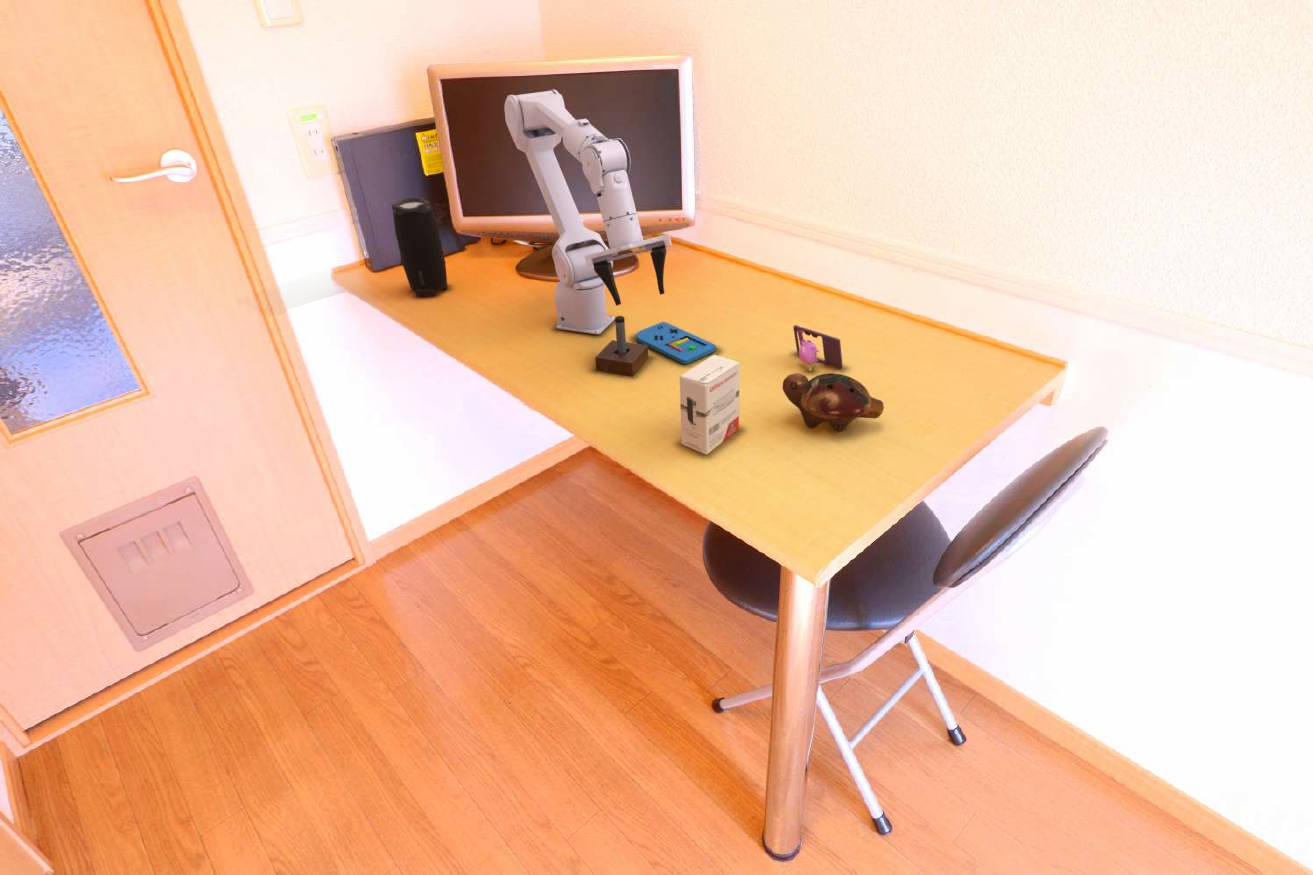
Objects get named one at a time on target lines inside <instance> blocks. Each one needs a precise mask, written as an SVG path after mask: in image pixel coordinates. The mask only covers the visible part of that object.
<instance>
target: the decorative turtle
mask: <svg viewBox="0 0 1313 875" xmlns="http://www.w3.org/2000/svg"><path fill="white" fill-rule="evenodd" d="M782 391H783V393H784V395H785V397H786V398H787V399H788V400H789V401H790V402H791V404H792V405H794V406H795V408H797V409H798V410H799V412H800V414H801V416H802V418H803V423H804V424H805V426H806V427H807V428H808V430H809V429H810V430H812V429H816V428H817V427H819V426H820V425H822V424H823V423H827V424H829V425H830V426H831V428H832V429H834V431H835V432H837V433H842V432H843V431H845V430H846V429H847V428H848V426H849V425H850V424H851V423H852V422H853V421H854V420H856V419H858V418H860V419H861V418H862V419H878V418H880V417H881V415H882V414H883V412H884V409H885V405H884V402H883V401H882V400H880V399H878V398H875V397H873V396H871V394H870V393H869V390H868V389H867V388H866V387H865V386H864V384H862V383H861V382H860V381H858V380H857V379H855V378H853V377H851V376H848V375H846V374H842V373H833V372H832V373H831V372H829V373H821V374H818V375H816V376H814V377H812V378H811V379H808V377H807V376H806V374H803V373H800V372H798V373H797V372H796V373H791V374H788V375H787V376H786V377H785V378H784V379H783V381H782Z"/></svg>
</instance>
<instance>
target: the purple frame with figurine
mask: <svg viewBox="0 0 1313 875" xmlns="http://www.w3.org/2000/svg"><path fill="white" fill-rule="evenodd" d="M792 328H793V334H794V342H795V346H796V353H797V355H798V356H799V359H800V360H801V361H802V363H803V364H805V365H808V372H812V370H813V365H814V364H815V363H816V362H818V363H823V364H826V365H828V366H831V367H834V368H836V369H839V370H842V369H843V367H844V366H843V356H842V355H843V354H842V346H841V345H842V344H841V339H840V338H838V337H835V336H831V335H828V334H825V333H821V332H818V331H815V330H812V329H809V328H806V327H803V326H802V325H796V324H795V325H793V327H792ZM803 334H805V335H806V336H812V338H815V339H818V338H819V337H820V338H821V341H822V349H823V358H824V359H821V358H819V357H817V356H818V354H817V353H819V352H820V350H819V349H818V346H817V345H816V343H815V342H813V341H811V340H809V339H804V335H803Z"/></svg>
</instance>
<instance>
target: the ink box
mask: <svg viewBox="0 0 1313 875" xmlns="http://www.w3.org/2000/svg"><path fill="white" fill-rule="evenodd" d="M740 368H741V362H739V361H737V360H734V359H731V358H727V357H723V356H720V355H716V354H712V355H711V356H709V357H708V358H706V359H704V360H703V361H702V362H700V363H698V364H697V365H695V366H694V367H692V368H691V369H689V370H688V371H686V372H684V373H683V374H680V375H679V400H680V402H679V403H680V404H679V405H680V437H681V440H680V441H681V445H683V446H685V447H687V448H689V449H692V450H694V451H697V452H699V453H701V454H703V455H708V454H709V453H711V452H712V451H713V450H714V449H717V447H719V446H720V445H721V444H723V443H724V442H725V441H726V440H728V439H729V438H730V437H732V436H733V435H734V434H735V433H737V432H738V431H739V428H740V427H739V426H740V424H739V423H740V422H739V420H740V374H741V373H740V372H741V371H740Z"/></svg>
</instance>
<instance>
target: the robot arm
mask: <svg viewBox="0 0 1313 875" xmlns="http://www.w3.org/2000/svg"><path fill="white" fill-rule="evenodd" d="M571 114H572V113H570V112H569V111H568V110H567V109H566V104H565V101H564V98H563V94H561V93H559V91H558V90H556V89H554V88H553V89H549V90H546V91H538V92H531V93H523V94H517V95H516V94H515V95H514V94H509V95H507V96H506V99H505V101H504V118H505V123H506V126H507V128H508V131H509V133H510V136H511V138H512V141H513V143H514V144H515V147H516V149H517V150H519V151H520V152H522V153H524V154H525V156H526V159H527V161H528V163H529V166H530V169H531V170H532V173H533V175H534V177H535V180H536V182H537V185H538V188H539V189H540V191H541V195H542V197H543V199H544V202H545V204H546V207H547V209H548V212H549V214H550V216H551V220H552V222H553V224H554V227H555V229H556V231H557V234H558V236H559V237H558V239H557V240H556V241H555V244H554V245H553V247H552V250H551V257H552V260H553V264H554V268H555V269H554V270H555V273H556V275H557V278H558V279H559V281H558V282H557V284H556V286H555V291H554V304H555V311H556V312H555V313H556V320H557V325H556V326H555V328H556V329H557V330H563V331H568V332H569V331H570V332H576V333H583V334H588V335H589V334H590V335H596V336H597V335H598V336H599V335H601V334H602V333H603V332H604V331H605V330H606V329H607V328H608V327H609V326H610V325H611V324H612V323H614V322H615V317H616V316H613V315H608V310H607V298H606V296H607V295H606V288H607V290H608V292H609V293H610V295H611V297H612V299H613V302H614V304H615V306H620V305H621V304H622V301H621V297H620V294H619V290H618V288H617V287H618V286H617V285H616V280H615V276H614V271H613V267H614V261H616V260H621V259H624V258H628V257H632V256H636V255H639V254H644V253H648V252H650V256H651V261H652V263H653V268H654V272H655V276H656V282H657V288H658V293H659V295H664V294H665V286H664V284H665V283H664V272H665V263H666V257H667V247H668V248H669V247H672V245H673V244H672V239H671V235H670V234H669V233H666V234H664V235H663V234H662V235H659V236H656V237H651V238H647V239H644V238H643V233H642V229H641V226H640V221H639V217H638V214H637V209H636V204H635V200H634V196H633V193H632V188H631V184H630V180H629V176H628V174H629V173H630V170H631V167H632V166H631V165H632V161H631V160H632V158H631V155H630V151H629V148H628V146H627V145H626V142H624V141H623V140H622V138H620V137H618V138H613V139H612V138H608V137H606V136H605V135H604V134H603V133H602V132H600V131H599V130H598V129H597V128H596V127H595V126H593V125H592V124H591V123H590V121H589V120H588V119H587V118H582V119H580V118H579V119H576V118H575V117H574V116H573V115H571ZM561 141H562V143H563V146H564V149H565V150H566V151H568V153H569V154H571V155H572V156H573V157H574V158H575V159H576V160H577V161H579V163H581V165H582V166H581V168H582V172H583V174H584V176H585V178H586V180H587V181H588V184H589V185H590V186H589V187H590V190H591V192H592V193H593V194H594V195H595V196H596V199H597V202H598V207H599V211H600V216H601V220H602V222H603V226H604V230H605V235H606V238H607V243H608V245H609V247H608V246H607V245H606V244H605V242H604V240H603V238H602V237H601V234H600V233H598V232H596V231H595V230H592V229H590V228H587V227H585V225H584V222H583V220H582V217H581V215H580V212H579V210H578V207H577V205H576V202H575V201H574V199H573V196H572V193H571V191H570V188H569V186H568V184H567V181H566V178H565V176H564V174H563V171H562V169H561V166H560V163H559V162H558V159H557V157H556V154H555V152H554V149H555V147H557V146H558V145H559V144H560V143H561ZM636 248H638V250H636V251H632V252H629V253H625V254H620V255H619V253H620V252H624V251H629V250H632V249H636Z"/></svg>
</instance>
